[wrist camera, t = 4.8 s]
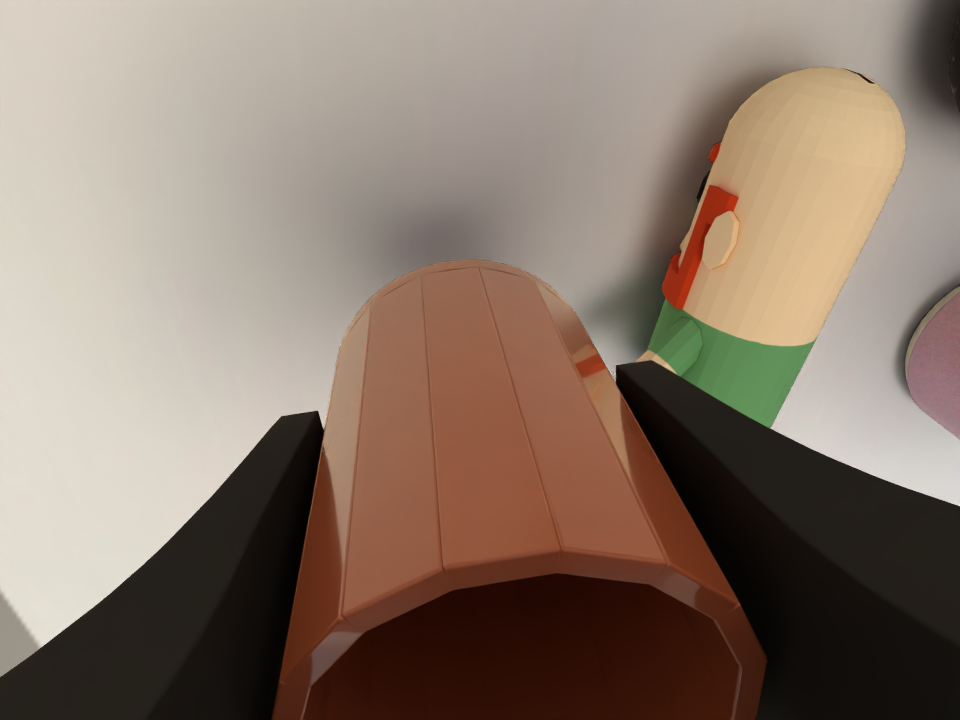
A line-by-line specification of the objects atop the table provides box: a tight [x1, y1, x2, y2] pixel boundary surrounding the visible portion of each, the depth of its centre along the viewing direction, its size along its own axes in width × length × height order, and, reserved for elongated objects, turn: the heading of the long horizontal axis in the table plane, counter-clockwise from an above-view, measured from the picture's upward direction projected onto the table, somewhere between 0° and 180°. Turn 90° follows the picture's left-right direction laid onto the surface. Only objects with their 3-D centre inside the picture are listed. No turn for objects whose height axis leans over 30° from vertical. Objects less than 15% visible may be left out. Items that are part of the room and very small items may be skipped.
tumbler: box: [270, 260, 767, 720], centre depth 9 cm, size 5×5×7 cm
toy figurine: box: [615, 67, 906, 428], centre depth 18 cm, size 8×4×12 cm
